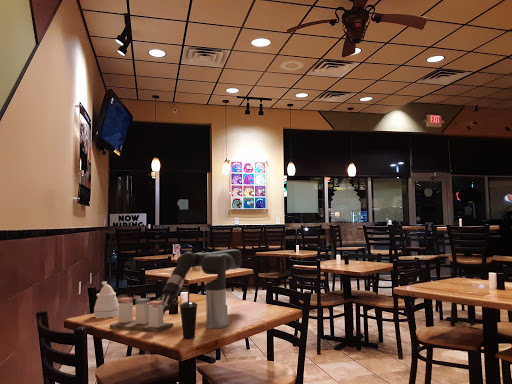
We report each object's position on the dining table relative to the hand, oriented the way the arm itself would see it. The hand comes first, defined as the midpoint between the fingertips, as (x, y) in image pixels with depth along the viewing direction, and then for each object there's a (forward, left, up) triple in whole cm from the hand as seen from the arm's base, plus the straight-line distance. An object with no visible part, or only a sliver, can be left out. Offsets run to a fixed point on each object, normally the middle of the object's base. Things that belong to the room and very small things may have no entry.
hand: (159, 317), depth 190 cm
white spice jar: (+13, -15, -3) cm, 20 cm away
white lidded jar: (+6, -8, -3) cm, 11 cm away
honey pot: (+20, -43, -5) cm, 48 cm away
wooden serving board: (+7, -7, -5) cm, 11 cm away
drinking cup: (-9, +21, -5) cm, 24 cm away
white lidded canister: (+2, +2, -3) cm, 4 cm away
